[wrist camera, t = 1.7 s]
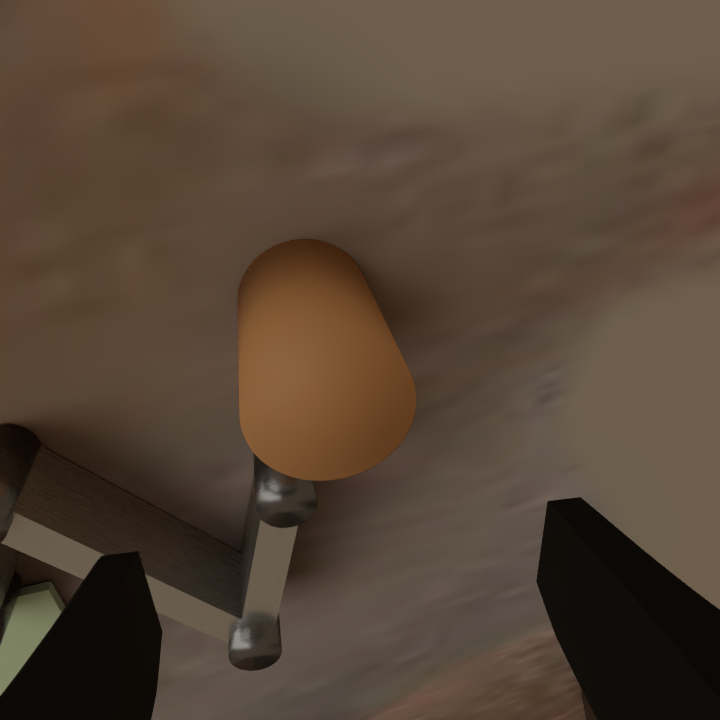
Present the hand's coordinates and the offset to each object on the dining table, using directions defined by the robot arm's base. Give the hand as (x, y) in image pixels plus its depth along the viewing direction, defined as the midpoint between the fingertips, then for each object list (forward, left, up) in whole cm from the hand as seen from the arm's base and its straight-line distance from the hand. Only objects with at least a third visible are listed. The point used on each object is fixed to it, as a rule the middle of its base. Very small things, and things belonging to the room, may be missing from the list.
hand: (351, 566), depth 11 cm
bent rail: (+6, -8, -10) cm, 14 cm away
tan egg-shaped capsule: (-1, 0, -10) cm, 10 cm away
